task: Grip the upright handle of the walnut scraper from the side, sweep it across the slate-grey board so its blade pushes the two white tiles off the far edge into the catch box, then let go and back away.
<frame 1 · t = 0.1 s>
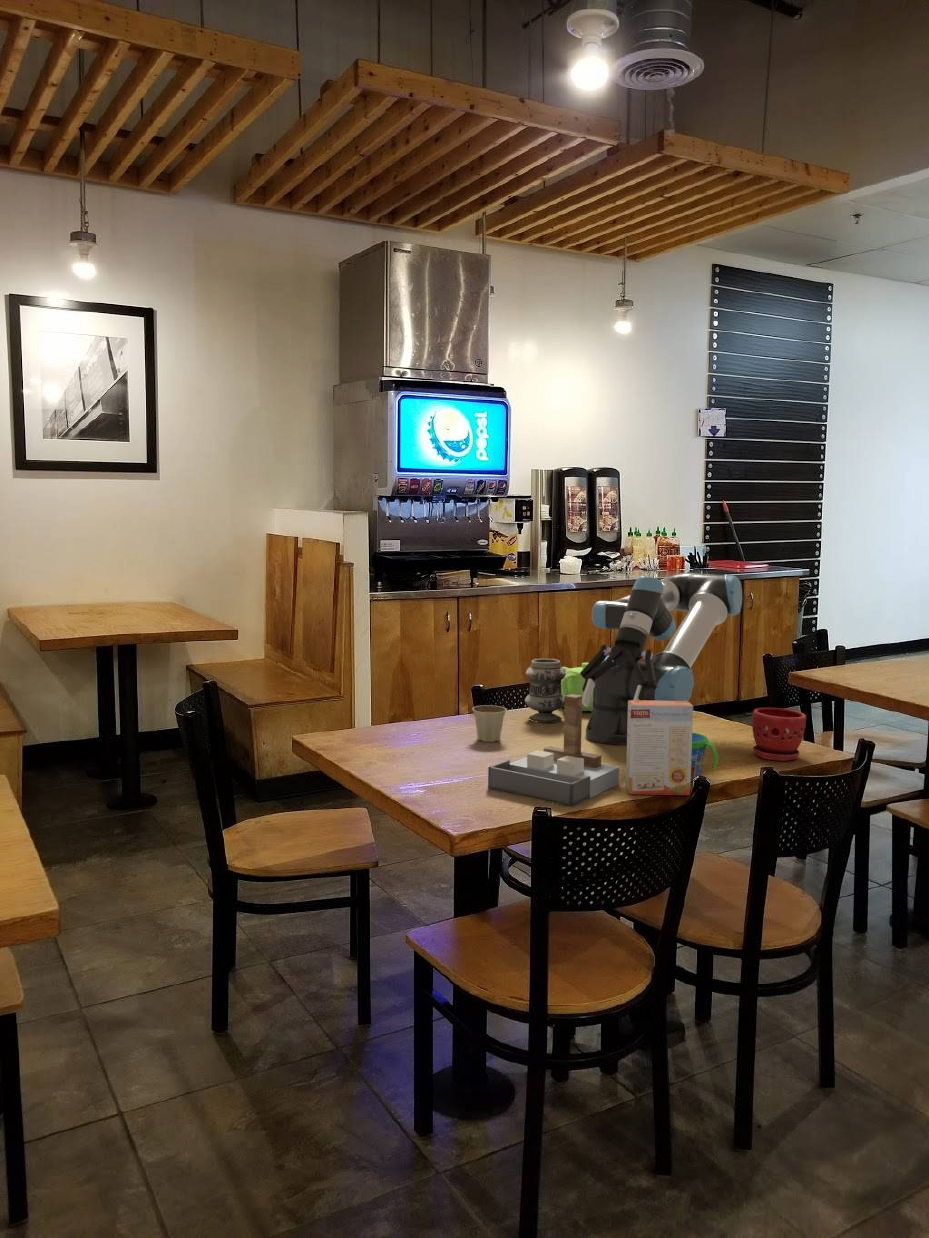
hand: (608, 708, 246), 15 cm above the table, tool tilted 35°, fingers open, 13 cm apart
flower pot: (488, 740, 276), on the table
board: (562, 782, 235), on the table
tile a: (540, 766, 234), point 4 cm above the table, touching board
apothecary jar: (544, 720, 301), on the table
catch box: (538, 793, 227), on the table
tile b: (570, 771, 230), point 4 cm above the table, touching board
scraper: (571, 762, 238), point 4 cm above the table, touching board
snack cup: (683, 779, 240), on the table
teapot: (589, 708, 319), on the table
cracker box: (657, 792, 229), on the table
plant pot: (777, 757, 261), on the table
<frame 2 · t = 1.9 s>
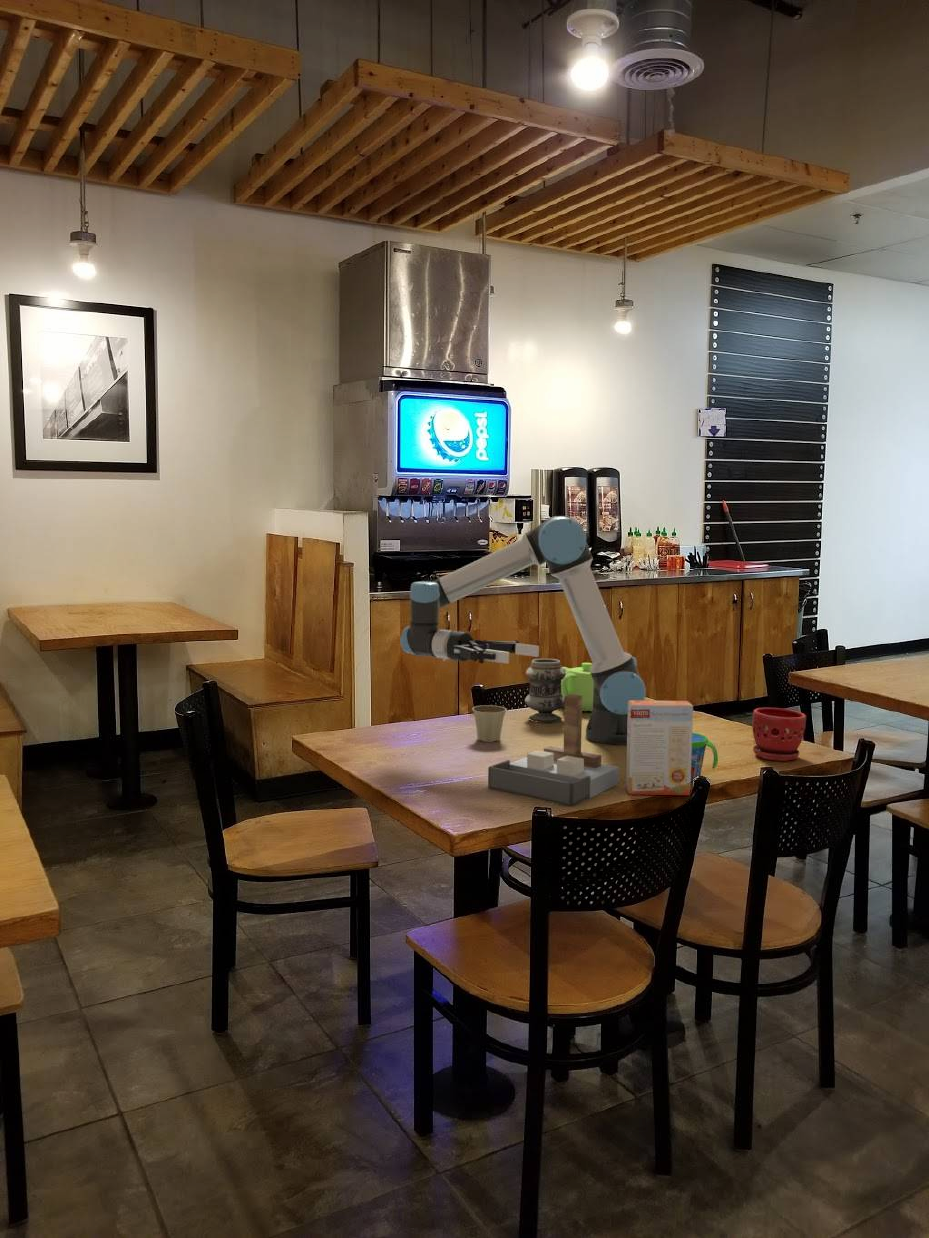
hand: (523, 654, 246), 28 cm above the table, tool horizontal, fingers open, 13 cm apart
nothing on the table moved.
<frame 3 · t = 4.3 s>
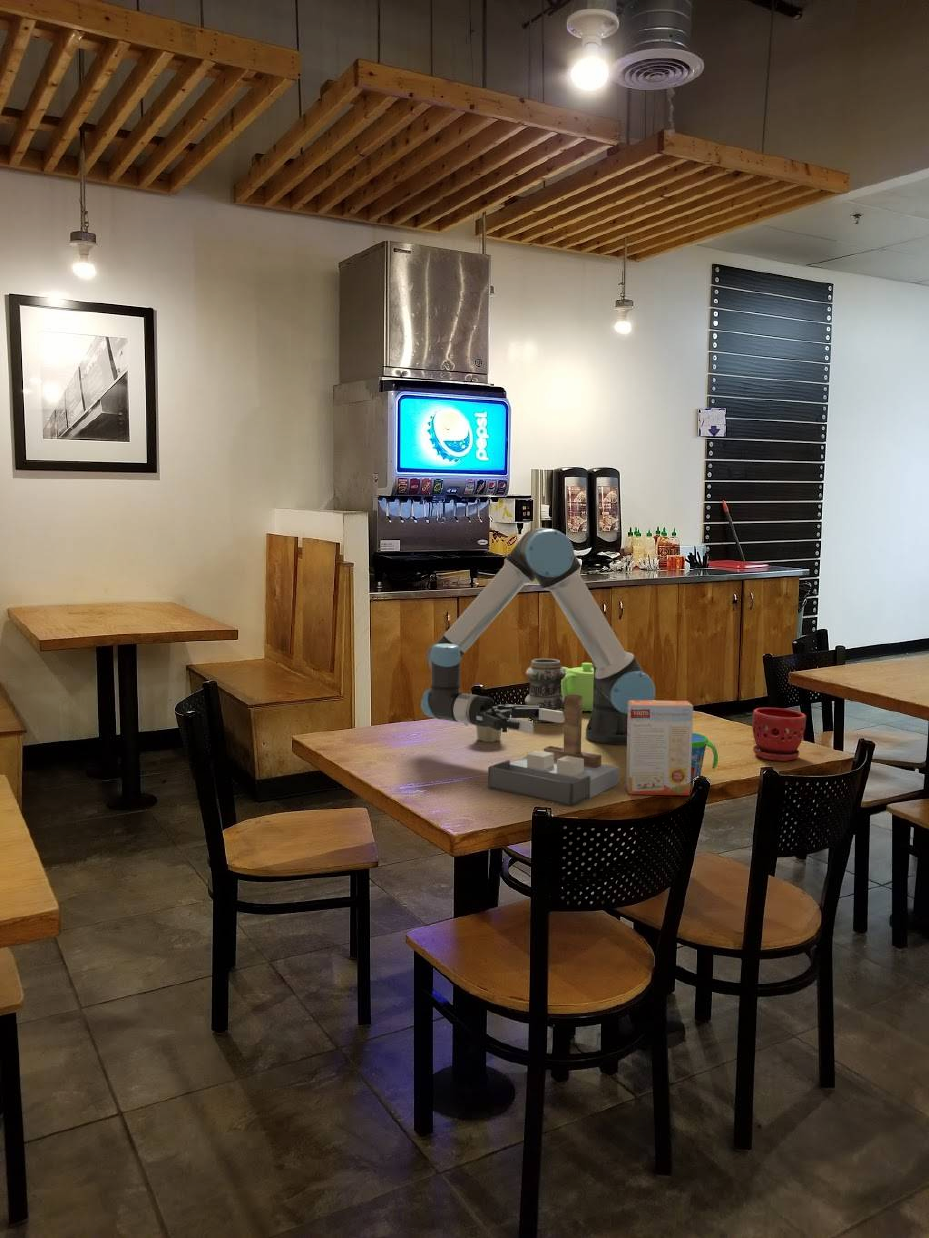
hand: (547, 722, 241), 13 cm above the table, tool horizontal, fingers open, 13 cm apart
nothing on the table moved.
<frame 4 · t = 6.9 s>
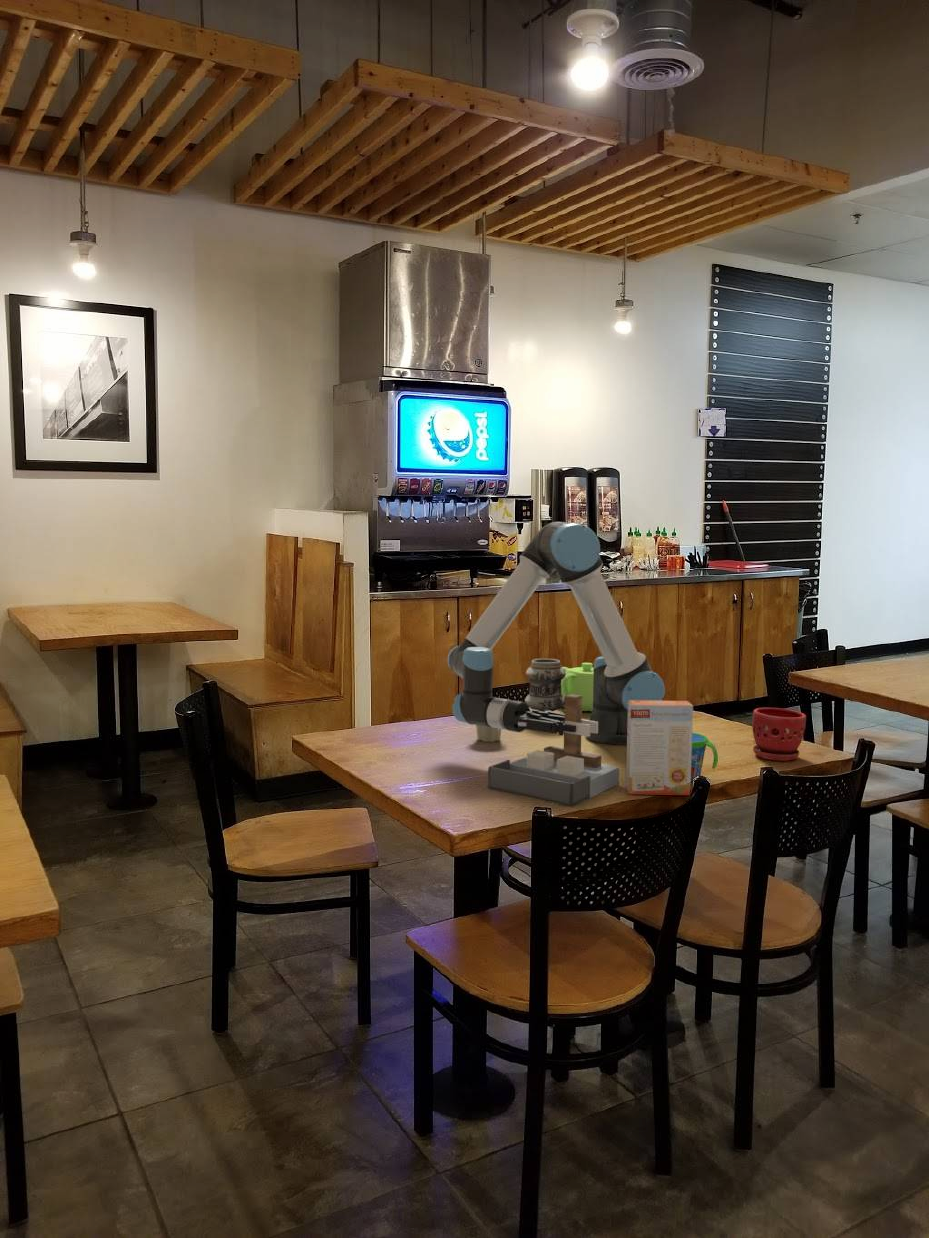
hand: (593, 729, 234), 13 cm above the table, tool horizontal, fingers closed on scraper, 3 cm apart
scraper: (571, 762, 238), point 4 cm above the table, touching board, gripper
everything else where it was.
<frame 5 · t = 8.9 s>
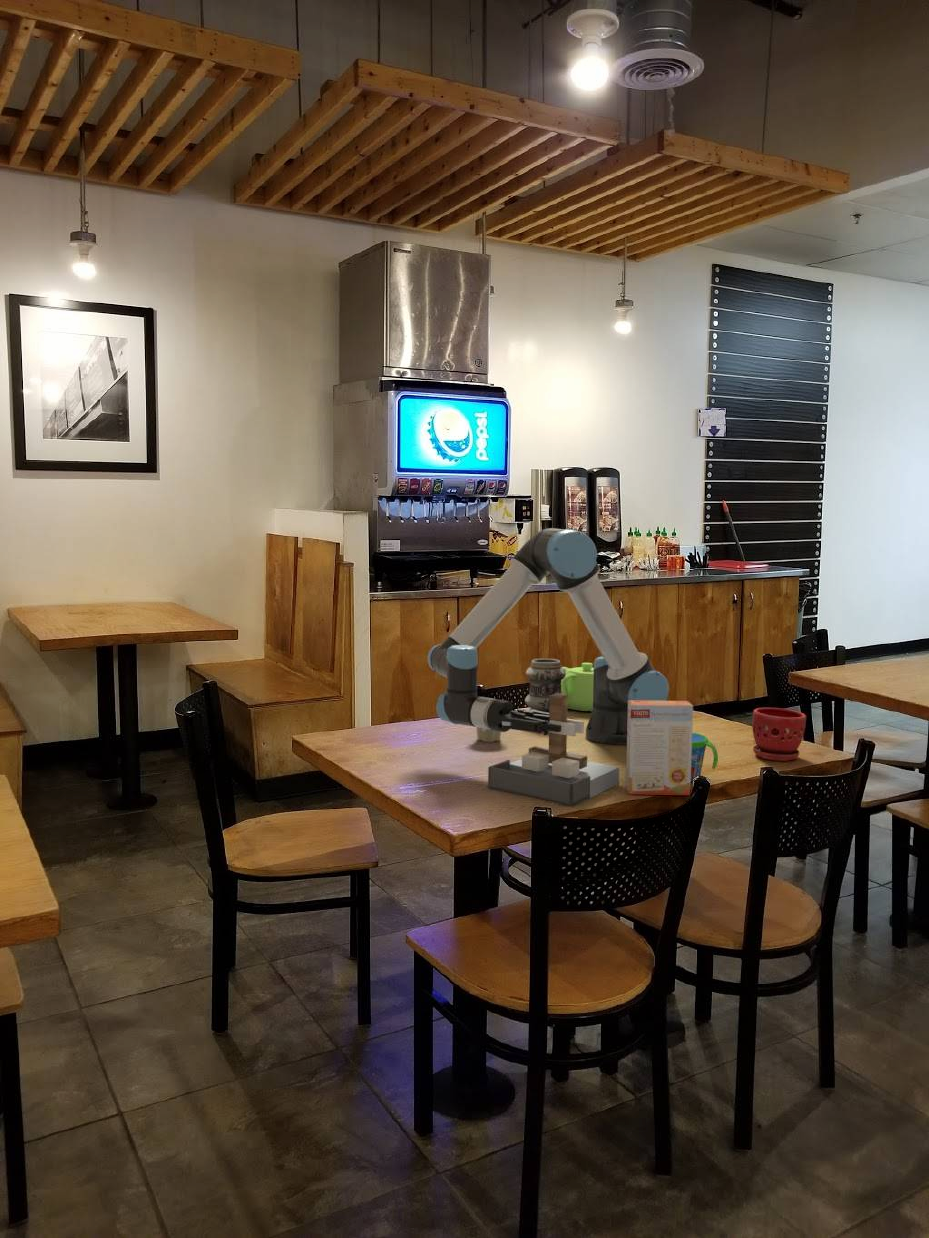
hand: (578, 728, 229), 14 cm above the table, tool horizontal, fingers closed on scraper, 3 cm apart
tile a: (535, 767, 233), point 4 cm above the table, touching scraper
tile b: (565, 774, 228), point 4 cm above the table, touching board
scraper: (557, 762, 233), point 5 cm above the table, touching gripper, tile a
everything else where it was.
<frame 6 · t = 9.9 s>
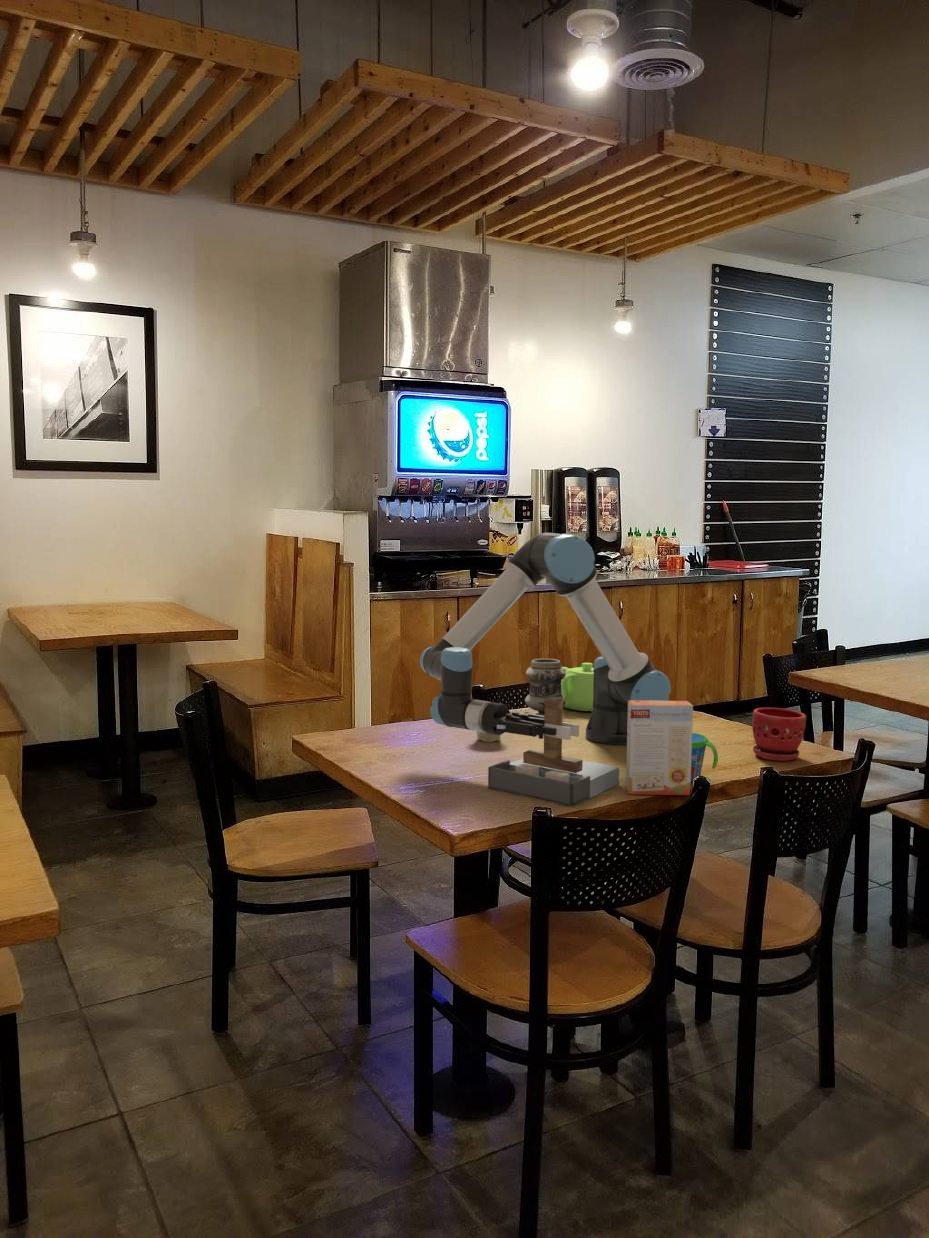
hand: (574, 732, 227), 14 cm above the table, tool horizontal, fingers closed on scraper, 3 cm apart
tile a: (530, 774, 231), point 3 cm above the table, tilted 90°, touching catch box
tile b: (560, 781, 226), point 3 cm above the table, tilted 90°, touching catch box
scraper: (552, 766, 231), point 5 cm above the table, touching gripper
everything else where it was.
when the fingers open (13 cm above the table, at t = 11.2 s): scraper stays where it is, resting on board.
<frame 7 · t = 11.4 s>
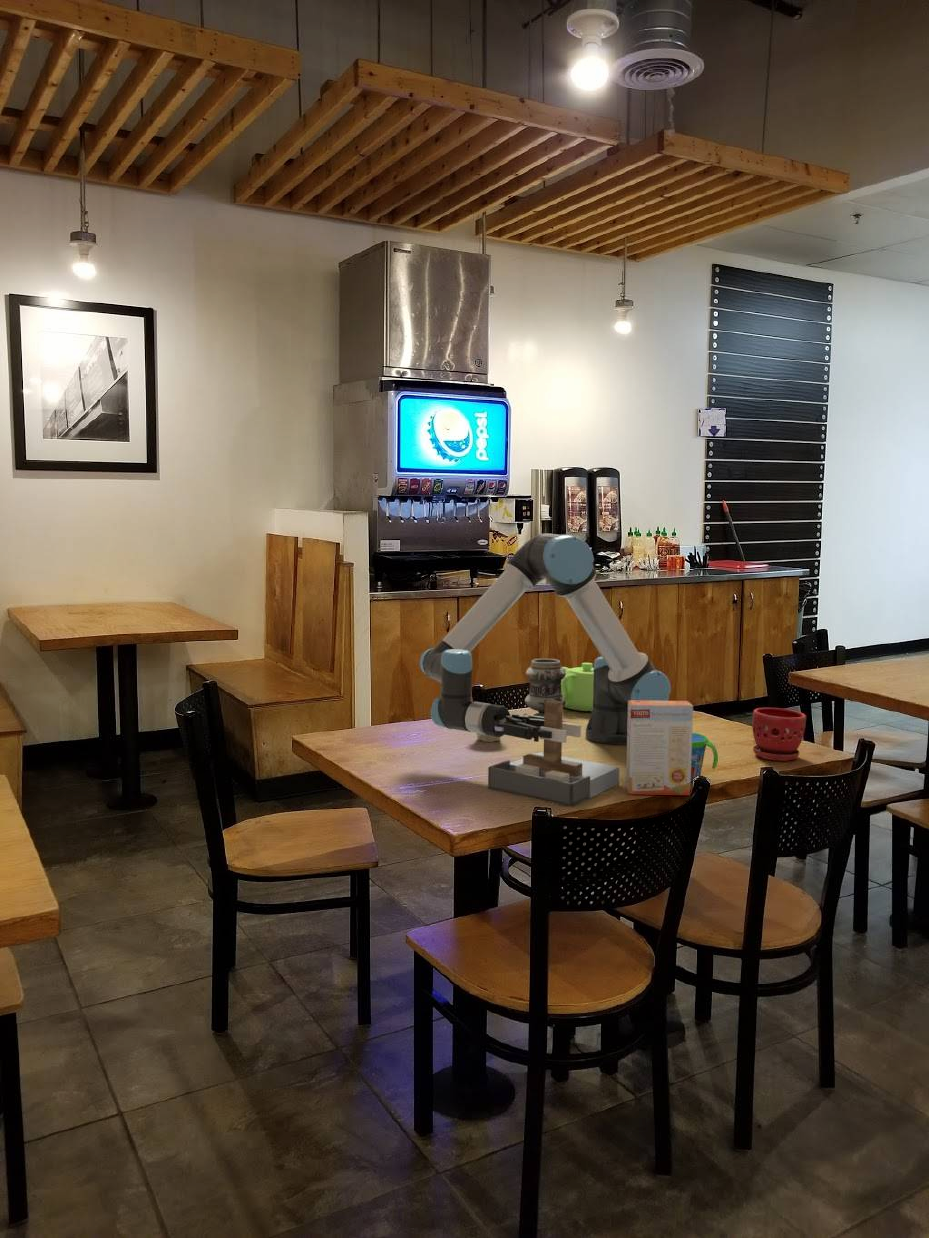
hand: (572, 733, 227), 13 cm above the table, tool horizontal, fingers open, 6 cm apart
scraper: (552, 770, 231), point 4 cm above the table, touching board
everything else where it was.
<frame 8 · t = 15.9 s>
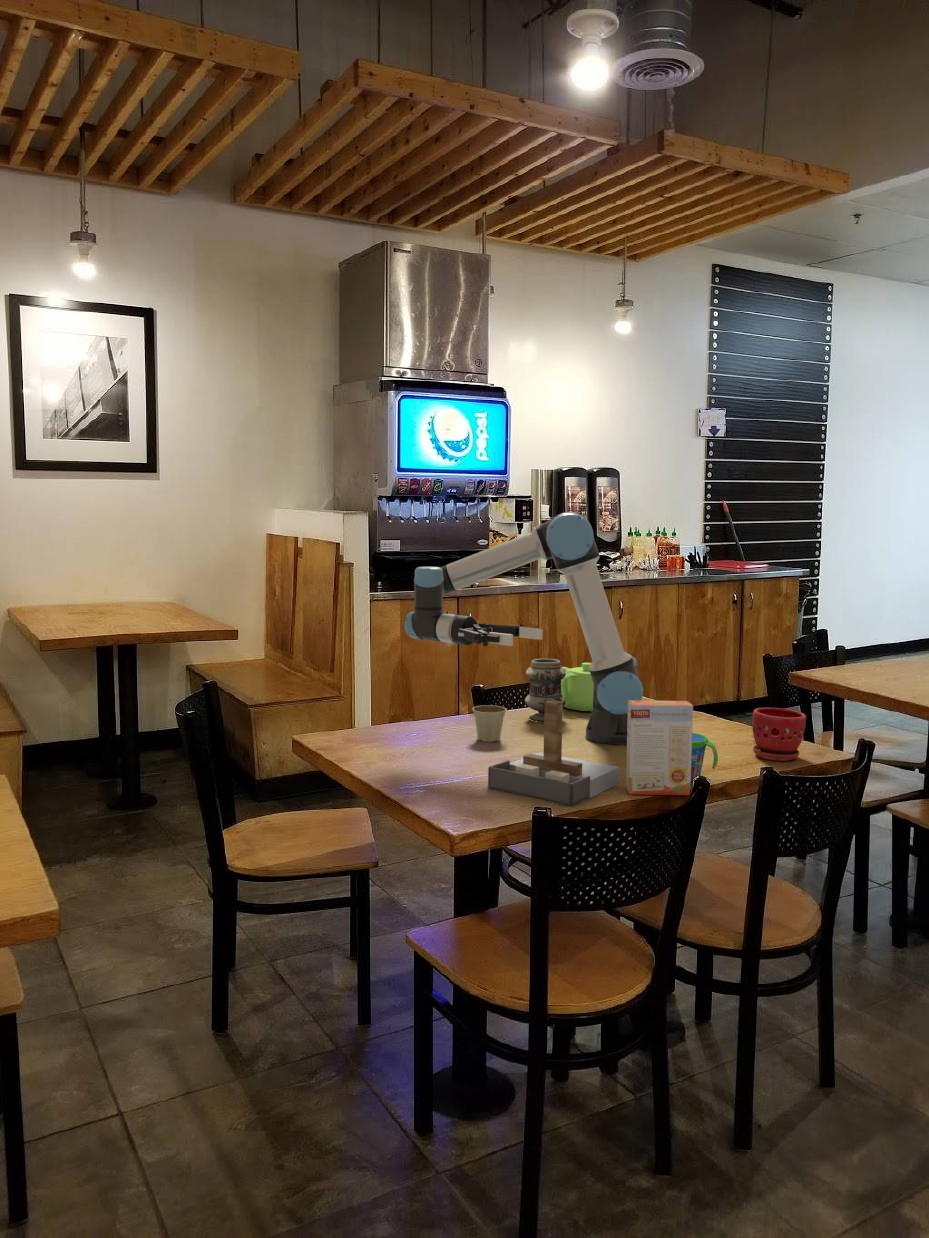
hand: (527, 637, 247), 32 cm above the table, tool horizontal, fingers open, 13 cm apart
nothing on the table moved.
at the end: tile a inside the target area (5.1 cm from its centre), point 2.8 cm above the table; tile b inside the target area (5.0 cm from its centre), point 2.8 cm above the table; the gripper is holding nothing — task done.
